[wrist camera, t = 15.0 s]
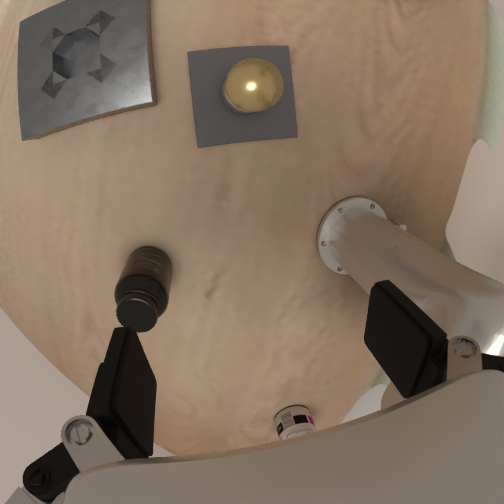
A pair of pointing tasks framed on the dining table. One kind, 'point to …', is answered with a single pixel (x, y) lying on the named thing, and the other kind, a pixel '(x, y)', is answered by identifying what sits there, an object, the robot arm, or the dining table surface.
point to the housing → (83, 64)
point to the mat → (223, 119)
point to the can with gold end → (252, 86)
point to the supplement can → (294, 422)
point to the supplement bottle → (143, 289)
